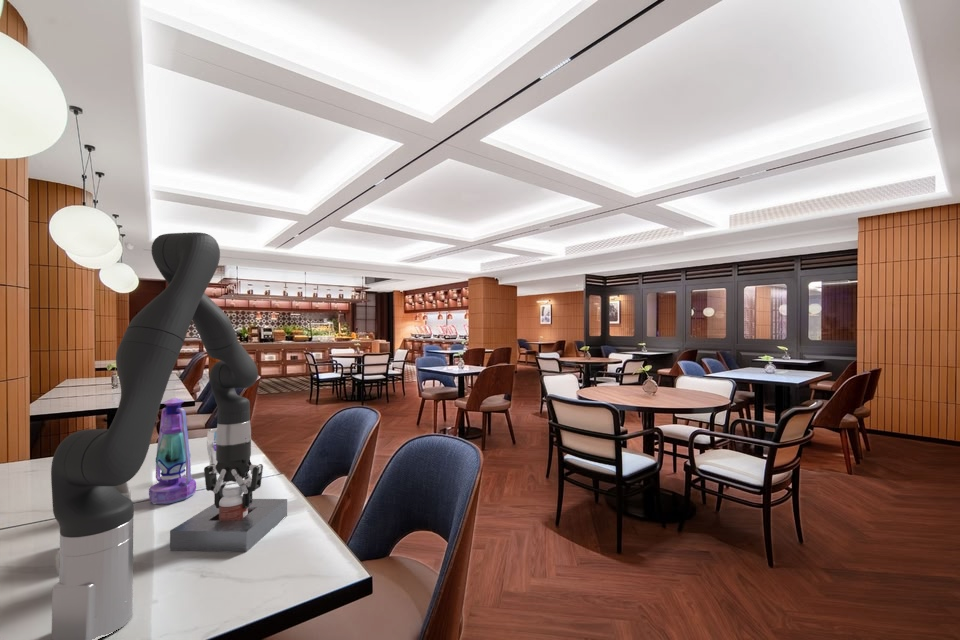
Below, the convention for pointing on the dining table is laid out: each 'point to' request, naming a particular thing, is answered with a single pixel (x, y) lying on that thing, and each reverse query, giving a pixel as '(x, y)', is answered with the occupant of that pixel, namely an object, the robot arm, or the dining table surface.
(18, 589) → the dining table surface
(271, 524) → the bore housing
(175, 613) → the dining table surface
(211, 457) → the beer glass
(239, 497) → the pill bottle
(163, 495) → the lantern
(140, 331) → the robot arm
